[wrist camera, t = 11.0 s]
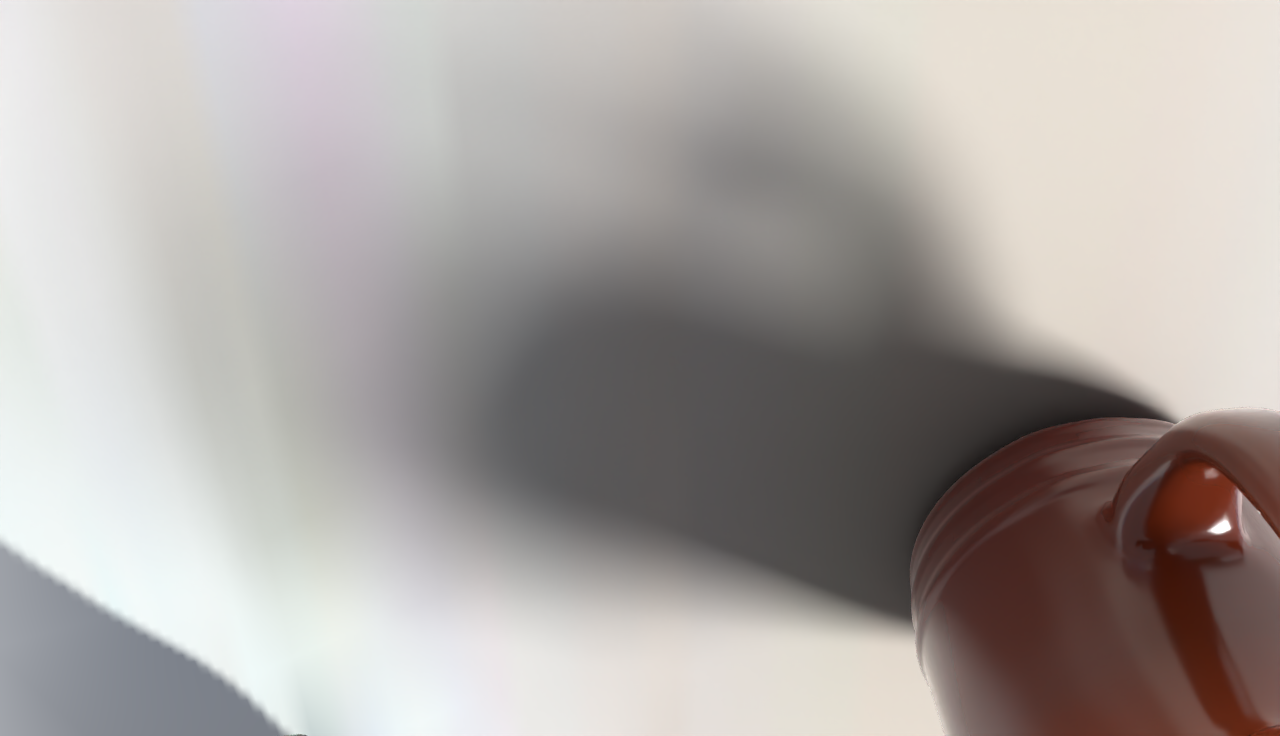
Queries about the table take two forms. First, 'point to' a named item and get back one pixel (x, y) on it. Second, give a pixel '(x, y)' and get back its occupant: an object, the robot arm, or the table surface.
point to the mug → (1108, 582)
